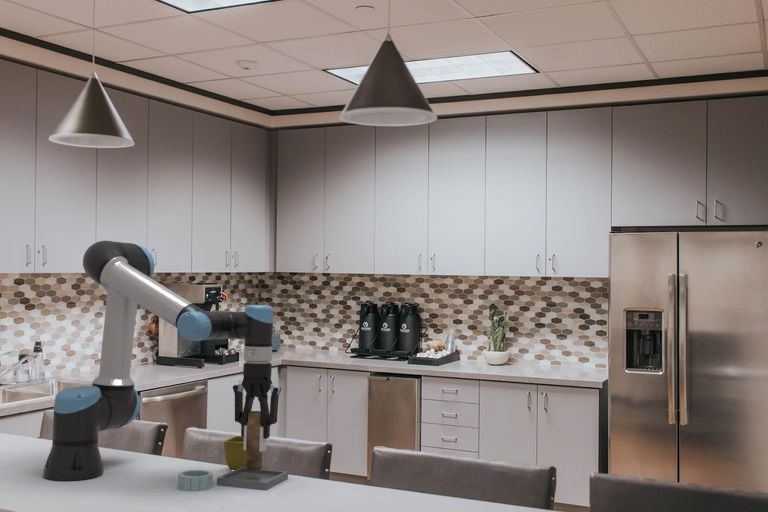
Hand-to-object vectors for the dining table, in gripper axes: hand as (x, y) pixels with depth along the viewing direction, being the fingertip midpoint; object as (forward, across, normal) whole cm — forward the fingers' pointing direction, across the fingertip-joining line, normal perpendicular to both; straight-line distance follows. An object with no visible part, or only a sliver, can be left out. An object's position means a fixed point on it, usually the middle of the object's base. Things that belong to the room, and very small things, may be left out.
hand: (254, 449), depth 206 cm
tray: (+9, 0, 0) cm, 9 cm away
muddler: (+5, 0, 0) cm, 5 cm away
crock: (+9, -11, -11) cm, 18 cm away
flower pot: (+9, -10, +14) cm, 19 cm away
